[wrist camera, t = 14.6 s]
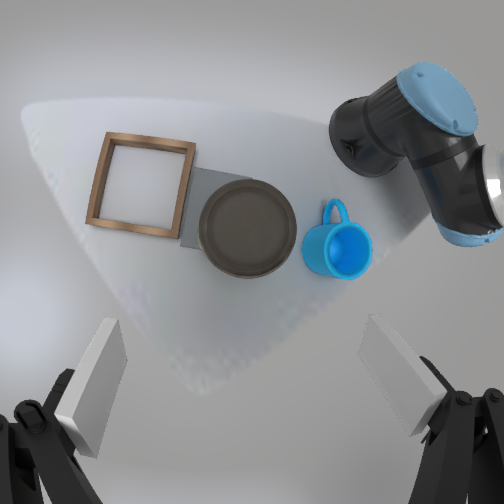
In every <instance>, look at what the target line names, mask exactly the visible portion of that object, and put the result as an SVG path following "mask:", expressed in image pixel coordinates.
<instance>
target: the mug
mask: <svg viewBox="0 0 504 504" xmlns="http://www.w3.org/2000/svg"><path fill="white" fill-rule="evenodd" d="M334 205H336V206H337V208H338V210H339V213H340V217H341V223H334V224H330V215H331V212H332V208H333V207H334ZM372 251H373V249H372V242H371V239H370V237H369V235H368V233H367V232H366V231H365V229H364V228H363V227H361V226H360V225H358V224H357V223H353V222H349V218H348V214H347V210H346V208H345V206H344V204H343V203H342V202H341V201H340V200H339V199H331V200H330V201H329V202H328V203H327V205H326V207H325V211H324V215H323V225H320V226H316V227H315V228H313V229H311V230H310V231H309V232H308V233H307V235H306V236H305V239H304V241H303V245H302V254H303V259H304V261H305V263H306V265H307V266H308V267H309V268H310V269H311V270H312V271H314V272H316V273H318V274H323V275H327V276H331V277H335V278H339V279H345V280H351V279H355V278H357V277H359V276H360V275H362V274H363V273H364V272H365V271H366V269H367V268H368V267H369V264H370V261H371V259H372Z"/></svg>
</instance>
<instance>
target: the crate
mask: <svg viewBox="0 0 504 504" xmlns="http://www.w3.org/2000/svg"><path fill="white" fill-rule="evenodd" d="M115 145H123V146H132V147H140V148H148V149H156V150H163V151H170V152H176V153H183V154H186V157H185V162H184V167H183V171H182V176H181V181H180V186H179V191H178V196H177V201H176V207H175V212H174V218H173V223H172V229H171V230H166V229H160V228H154V227H148V226H141V225H135V224H129V223H122V222H116V221H109V220H103V219H99V213H100V208H101V203H102V197H103V193H104V188H105V183H106V179H107V174H108V170H109V166H110V162H111V158H112V154H113V151H114V147H115ZM195 147H196V143H192V142H186V141H180V140H173V139H166V138H159V137H151V136H143V135H134V134H124V133H114V132H106V135H105V138H104V142H103V145H102V149H101V153H100V156H99V160H98V164H97V168H96V172H95V176H94V181H93V185H92V190H91V195H90V200H89V205H88V210H87V216H86V222H85V224H89V225H95V226H101V227H107V228H114V229H120V230H126V231H132V232H139V233H145V234H151V235H157V236H163V237H170V238H176V239H178V237H179V231H180V225H181V219H182V213H183V208H184V202H185V197H186V192H187V187H188V182H189V177H190V172H191V167H192V162H193V158H194V153H195Z"/></svg>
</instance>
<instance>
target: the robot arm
mask: <svg viewBox="0 0 504 504" xmlns="http://www.w3.org/2000/svg"><path fill="white" fill-rule="evenodd" d="M475 110H476V108H475V105H474V103H473V101H472V99H471V97H470V95H469V94H468V92H467V91H466V89H465V88H464V87H463V85H462V84H461V83H460V82H459V81H458V79H456V78H455V77H454V76H453V75H452V74H451V73H450V72H449V71H447V70H445V69H444V68H443V67H441V66H439V65H437V64H434V63H431V62H419V63H416V64H414V65H413V66H411V67H409V68H407V69H404V70H402V71H400V73H399V74H398V75H397V76H396V77H394V78H393V79H391V80H390V81H389V82H387V83H386V84H384V85H383V86H382V87H380V88H379V89H378V90H376V91H375V92H374V93H372V94H371V95H370V96H365V97H360V98H354V99H350V100H348V101H346V102H344V103H343V104H342V105H340V106H339V107H338V108H337V109H336V110H335V111H334V113H333V114H332V117H331V120H330V124H329V132H330V138H331V142H332V145H333V147H334V149H335V151H336V153H337V155H338V156H339V158H340V159H341V160H342V161H343V162H344V164H345V165H347V166H348V167H349V168H350V169H351V170H353V171H354V172H356V173H358V174H360V175H363V176H367V177H376V176H380V175H383V174H386V173H388V172H390V171H391V170H393V169H394V168H395V167H396V166H397V164H398V163H399V161H401V160H402V159H403V158H404V157H405V156H407V157H408V159H409V161H410V163H411V165H412V167H413V169H414V171H415V174H416V176H417V178H418V180H419V182H420V184H421V187H422V189H423V191H424V194H425V196H426V198H427V201H428V203H429V206H430V208H431V213H432V216H433V219H434V220H435V222H436V223H437V225H438V228H439V230H440V233H441V235H442V236H443V237H444V238H445V239H446V240H447V241H448V242H450V243H451V244H454V245H457V246H461V247H477V246H481V245H483V244H484V243H485V242H488V243H490V242H492V241H494V240H496V239H497V238H498V237H499V236H500V235H501V234H502V232H503V230H504V151H502V150H500V149H499V148H497V147H496V146H494V145H493V144H491V143H488V144H485V145H482V146H479V145H478V143H477V141H476V138H475V136H474V134H473V133H474V131H475V130H476V128H477V125H478V117H477V114H476V113H475ZM358 355H359V357H360V358H361V360H362V362H363V363H364V364H365V366H366V368H367V369H368V371H369V373H370V374H371V376H372V377H373V379H374V380H375V382H376V383H377V385H378V387H379V388H380V390H381V391H382V393H383V395H384V396H385V397H386V400H387V401H388V403H389V405H390V406H391V408H392V409H393V411H394V413H395V414H396V416H397V418H398V419H399V421H400V423H401V424H402V426H403V428H404V429H405V431H406V432H407V434H408V436H409V437H410V436H413V435H416V434H418V433H421V432H422V431H423V430H424V428H425V427H426V425H427V424H428V426H429V427H430V430H429V431H428V433H427V434H426V436H425V437H424V438H423V440H422V442H421V443H423V442H424V441H425V440H426V443H425V447H424V452H423V456H422V460H421V464H420V467H419V471H418V475H417V478H416V481H415V485H414V488H413V491H412V494H411V497H410V500H409V503H408V504H466V499H467V493H468V504H504V395H503V393H502V392H500V391H499V390H497V389H495V388H489V389H487V390H486V392H485V393H484V395H483V396H482V397H473V398H472V396H471V395H470V394H468V393H467V392H464V391H455V390H454V388H453V387H452V386H451V385H450V384H449V383H448V381H446V379H445V378H444V377H443V376H442V374H440V372H439V371H438V370H437V369H436V368H435V366H434V365H433V364H432V363H431V362H430V361H429V360H427V359H426V358H424V357H422V356H420V357H418V356H417V355H416V353H415V352H414V351H413V350H412V349H411V348H410V347H409V345H408V344H407V343H406V342H405V341H404V340H403V338H402V337H401V336H400V335H399V334H398V333H397V332H396V331H395V330H394V328H393V327H392V326H391V325H390V324H389V323H388V322H387V321H386V320H385V318H383V316H382V315H381V314H372V315H369V316H368V320H367V323H366V327H365V331H364V334H363V338H362V342H361V345H360V348H359V352H358ZM126 363H127V356H126V352H125V348H124V344H123V339H122V335H121V330H120V325H119V320H118V319H117V318H104V320H103V321H102V323H101V325H100V327H99V328H98V330H97V332H96V334H95V335H94V337H93V339H92V341H91V342H90V344H89V346H88V348H87V350H86V351H85V353H84V355H83V357H82V359H81V361H80V363H79V364H78V366H77V368H76V370H73V369H66V370H65V371H64V372H62V373H61V374H60V375H59V377H58V379H57V380H56V382H55V385H54V386H53V388H52V391H50V393H49V395H48V397H47V399H46V401H45V403H44V405H43V407H42V406H41V405H40V403H38V402H37V401H35V400H24V401H23V402H21V403H19V404H18V405H17V406H16V408H15V410H14V418H15V419H16V420H17V422H18V423H9V422H8V421H7V419H6V418H5V417H4V416H3V415H1V414H0V504H44V502H43V497H42V492H41V486H40V481H39V476H40V478H41V480H42V483H43V485H44V487H45V489H46V491H47V494H48V496H49V498H50V500H51V502H52V504H103V503H102V502H101V500H100V499H99V497H98V496H97V494H96V493H95V491H94V489H93V488H92V486H91V484H90V483H89V481H88V479H87V478H86V476H85V474H84V472H83V471H82V469H81V468H80V465H79V464H78V462H77V460H76V458H75V457H74V455H73V454H74V450H75V448H76V449H77V451H78V452H79V453H80V455H83V456H88V457H92V458H97V456H98V452H99V449H100V445H101V441H102V438H103V434H104V431H105V428H106V424H107V421H108V418H109V414H110V411H111V408H112V405H113V402H114V399H115V396H116V392H117V389H118V387H119V384H120V380H121V378H122V375H123V372H124V369H125V366H126ZM486 428H487V430H488V433H487V434H486V433H485V429H486ZM38 473H39V474H38Z"/></svg>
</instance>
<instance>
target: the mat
mask: <svg viewBox="0 0 504 504" xmlns="http://www.w3.org/2000/svg"><path fill="white" fill-rule="evenodd" d="M240 179H253V178H250V177H245V176H240V175H235V174H230V173H224V172H219V171H214V170H208V169H202V168H196V167H195V168H194V173H193V178H192V183H191V188H190V193H189V198H188V204H187V209H186V215H185V220H184V226H183V232H182V238H181V244H180V246H183V247H189V248H195V249H201V248H200V246H199V243H198V240H197V225H198V222H199V219H200V215H201V211H202V209H203V207H204V205H205V203H206V201H207V200H208V198H209V197H210V196H211V195H212V194H213V193H214V192H215V191H216V190H217V189H219V188H220V187H222V186H223V185H225V184H227V183H229V182H232V181H235V180H240Z"/></svg>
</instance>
